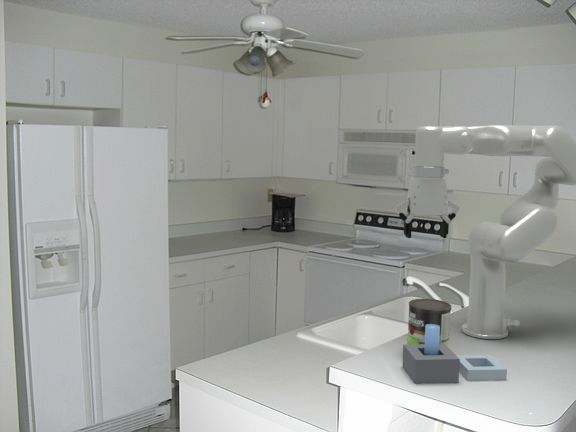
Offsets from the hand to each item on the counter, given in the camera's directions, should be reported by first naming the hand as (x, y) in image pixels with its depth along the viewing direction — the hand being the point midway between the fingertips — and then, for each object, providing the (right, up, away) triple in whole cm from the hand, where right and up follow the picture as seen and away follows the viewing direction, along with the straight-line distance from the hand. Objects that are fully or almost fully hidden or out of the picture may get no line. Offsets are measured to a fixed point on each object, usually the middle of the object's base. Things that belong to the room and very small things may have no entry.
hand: (425, 237), depth 161 cm
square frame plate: (+8, -31, -21) cm, 38 cm away
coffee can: (-2, -30, -11) cm, 32 cm away
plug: (-4, -31, -22) cm, 39 cm away
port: (-4, -31, -22) cm, 39 cm away
